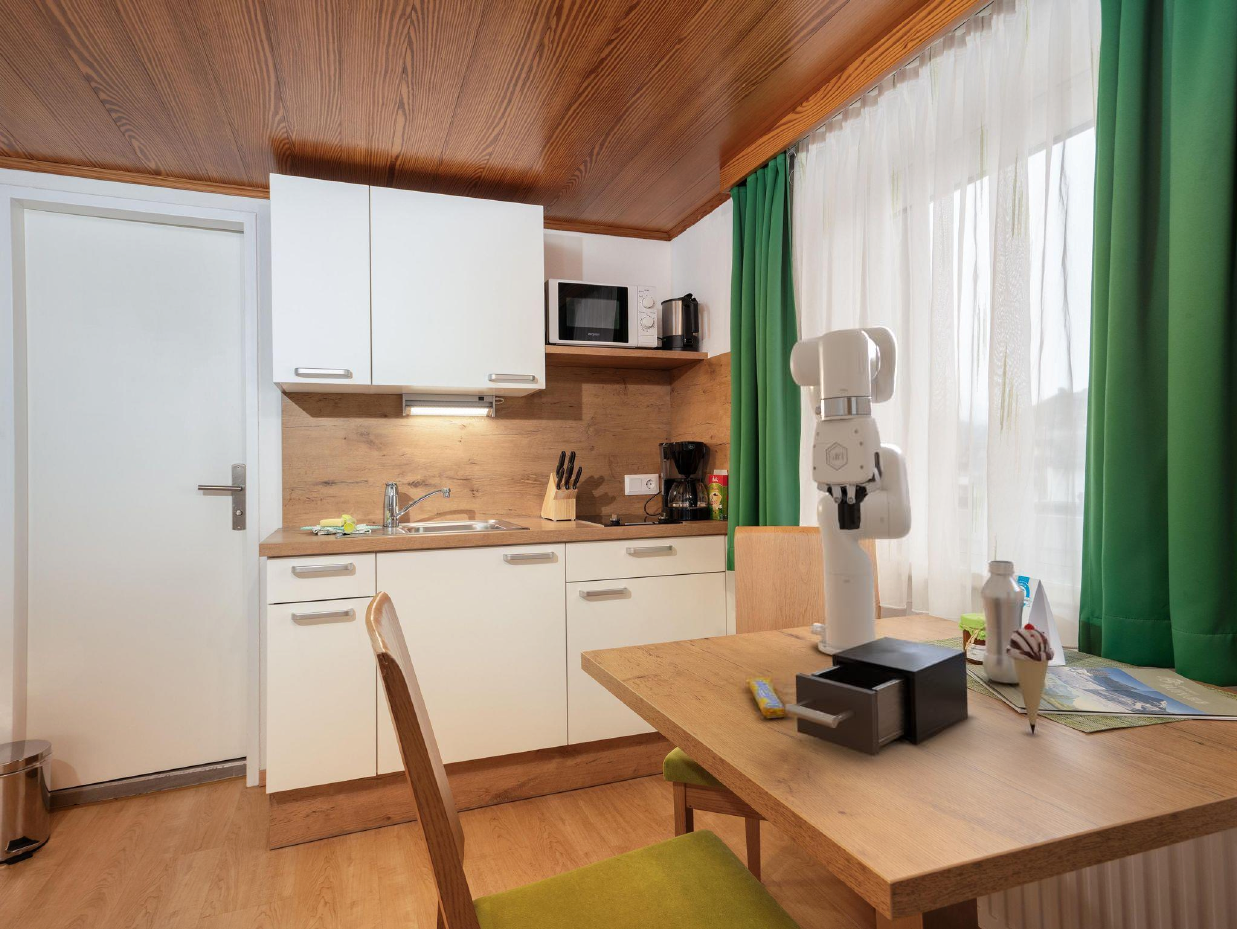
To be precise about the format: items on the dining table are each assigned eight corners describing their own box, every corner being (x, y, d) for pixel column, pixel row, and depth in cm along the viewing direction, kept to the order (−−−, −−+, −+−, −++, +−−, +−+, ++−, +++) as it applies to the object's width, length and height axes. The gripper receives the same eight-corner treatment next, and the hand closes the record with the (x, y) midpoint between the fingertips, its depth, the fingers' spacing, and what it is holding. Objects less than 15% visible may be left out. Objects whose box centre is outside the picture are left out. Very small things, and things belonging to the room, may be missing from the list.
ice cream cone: (998, 730, 96) (995, 621, 96) (1029, 724, 98) (1025, 616, 98) (1036, 745, 91) (1032, 629, 91) (1068, 738, 93) (1064, 624, 93)
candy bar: (791, 721, 102) (790, 708, 102) (762, 721, 102) (761, 708, 102) (770, 685, 119) (770, 674, 119) (745, 685, 119) (745, 674, 119)
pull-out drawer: (849, 769, 83) (846, 703, 83) (772, 742, 92) (770, 683, 92) (927, 728, 95) (925, 671, 95) (853, 708, 104) (851, 655, 104)
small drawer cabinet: (917, 744, 92) (914, 671, 92) (833, 720, 102) (831, 654, 102) (968, 717, 101) (966, 650, 101) (887, 697, 111) (885, 636, 111)
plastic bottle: (1016, 675, 120) (1011, 558, 120) (1035, 688, 113) (1031, 564, 113) (976, 675, 121) (972, 559, 121) (993, 688, 114) (989, 565, 114)
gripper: (791, 414, 112) (795, 528, 112) (876, 406, 101) (881, 533, 101) (819, 415, 117) (822, 525, 117) (903, 407, 105) (908, 529, 105)
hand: (849, 528), depth 109 cm, fingers closed
